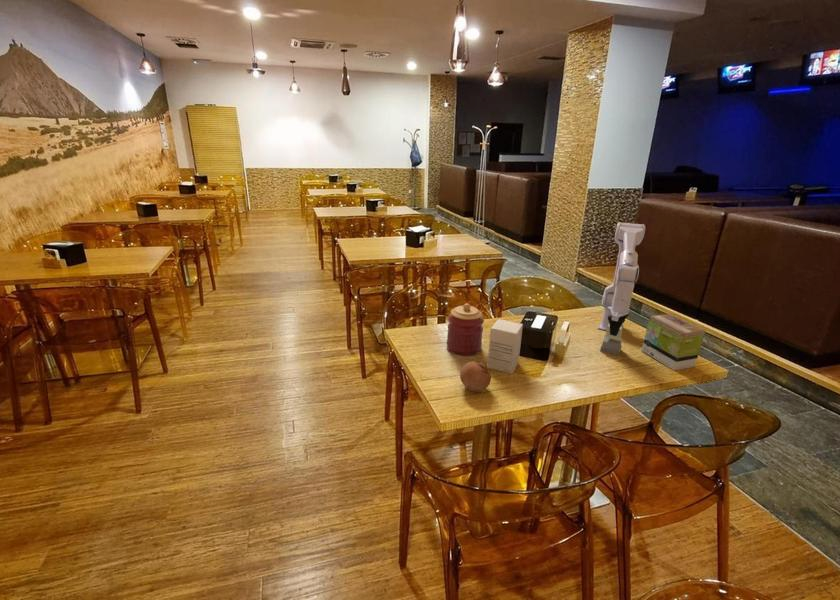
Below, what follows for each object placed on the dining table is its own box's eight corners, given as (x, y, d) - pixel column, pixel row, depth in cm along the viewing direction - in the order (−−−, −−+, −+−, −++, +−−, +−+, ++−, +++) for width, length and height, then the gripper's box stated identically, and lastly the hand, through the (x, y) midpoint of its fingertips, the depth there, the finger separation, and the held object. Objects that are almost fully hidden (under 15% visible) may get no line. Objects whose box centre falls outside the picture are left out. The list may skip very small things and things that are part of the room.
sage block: (608, 333, 159) (610, 322, 157) (620, 336, 156) (623, 325, 155) (605, 337, 155) (607, 326, 154) (618, 340, 153) (620, 329, 151)
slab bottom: (603, 346, 162) (604, 340, 161) (620, 351, 159) (621, 345, 158) (599, 352, 158) (600, 346, 157) (616, 357, 154) (618, 351, 153)
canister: (473, 359, 148) (476, 313, 142) (440, 350, 154) (442, 305, 148) (486, 345, 159) (490, 301, 153) (455, 337, 165) (458, 294, 159)
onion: (485, 396, 133) (503, 373, 129) (468, 401, 126) (486, 376, 122) (466, 375, 138) (482, 352, 134) (448, 378, 131) (465, 354, 127)
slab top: (603, 341, 161) (604, 335, 160) (620, 344, 159) (621, 338, 158) (601, 347, 156) (603, 341, 155) (619, 351, 154) (620, 345, 153)
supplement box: (494, 356, 151) (498, 318, 146) (518, 362, 147) (523, 323, 142) (486, 367, 143) (490, 327, 138) (512, 374, 140) (517, 333, 134)
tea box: (640, 351, 158) (648, 315, 153) (660, 348, 161) (670, 312, 156) (673, 371, 145) (684, 332, 140) (695, 367, 148) (707, 329, 143)
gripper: (614, 290, 158) (607, 323, 163) (605, 301, 147) (598, 336, 152) (635, 294, 154) (627, 328, 159) (627, 306, 143) (619, 342, 148)
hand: (614, 332), depth 155 cm, fingers closed on sage block, 4 cm apart
